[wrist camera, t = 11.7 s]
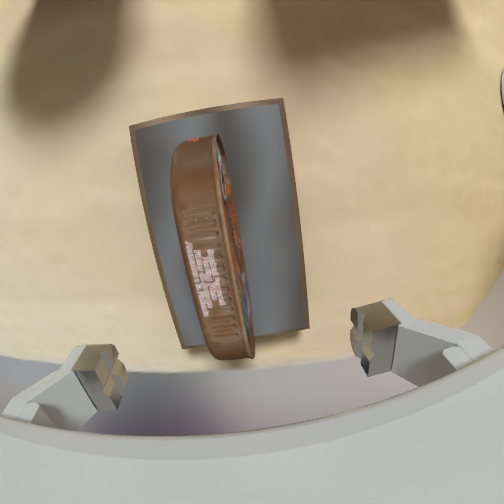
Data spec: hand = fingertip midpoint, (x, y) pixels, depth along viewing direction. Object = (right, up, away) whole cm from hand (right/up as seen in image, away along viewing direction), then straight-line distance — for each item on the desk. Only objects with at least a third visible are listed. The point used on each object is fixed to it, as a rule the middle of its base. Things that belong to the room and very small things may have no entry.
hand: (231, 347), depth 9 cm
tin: (-2, +4, +14) cm, 15 cm away
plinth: (-2, +6, +17) cm, 18 cm away
